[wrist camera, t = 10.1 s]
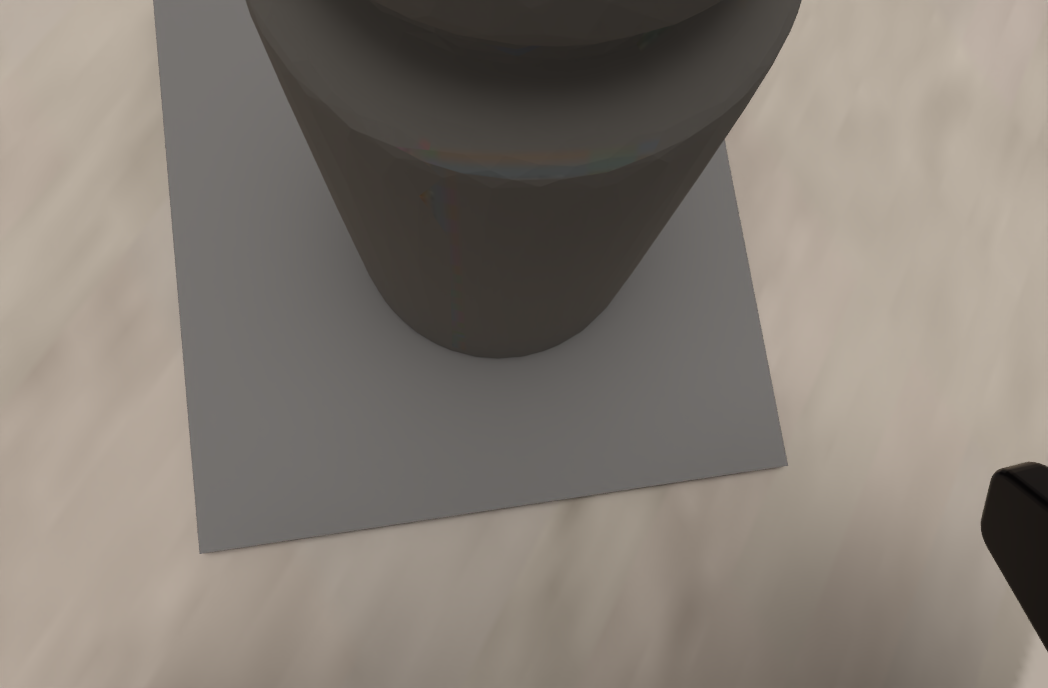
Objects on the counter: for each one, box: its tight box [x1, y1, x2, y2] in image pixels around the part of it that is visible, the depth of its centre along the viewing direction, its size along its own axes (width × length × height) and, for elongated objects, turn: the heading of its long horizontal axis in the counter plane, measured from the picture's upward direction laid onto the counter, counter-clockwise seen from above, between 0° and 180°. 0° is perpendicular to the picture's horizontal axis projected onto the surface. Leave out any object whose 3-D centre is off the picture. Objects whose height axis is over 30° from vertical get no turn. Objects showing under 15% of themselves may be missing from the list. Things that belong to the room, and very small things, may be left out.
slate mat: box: [153, 0, 788, 554], centre depth 19 cm, size 12×12×1 cm
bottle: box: [245, 0, 801, 358], centre depth 12 cm, size 6×6×15 cm
